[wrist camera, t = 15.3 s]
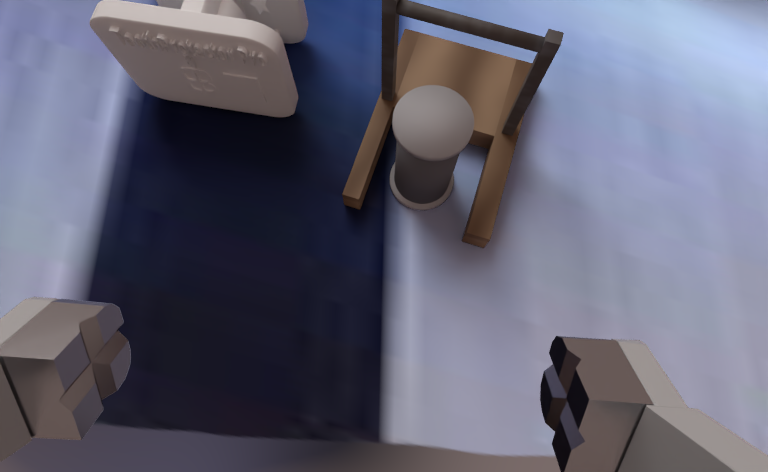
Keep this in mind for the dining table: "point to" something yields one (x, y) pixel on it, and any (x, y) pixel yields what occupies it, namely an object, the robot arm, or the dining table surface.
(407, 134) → the grey mushroom bollard
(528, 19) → the dining table surface
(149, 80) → the cable organizer
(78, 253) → the dining table surface
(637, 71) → the dining table surface
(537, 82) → the wooden frame
